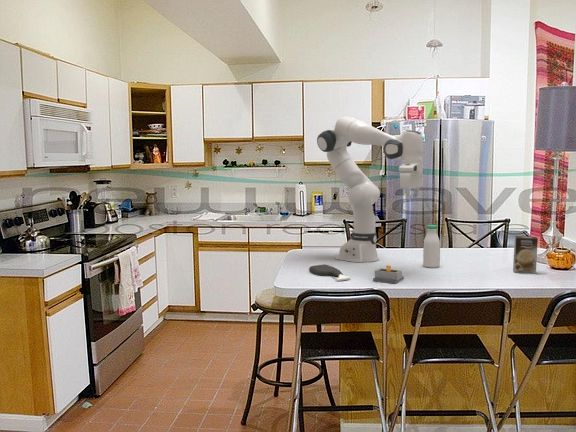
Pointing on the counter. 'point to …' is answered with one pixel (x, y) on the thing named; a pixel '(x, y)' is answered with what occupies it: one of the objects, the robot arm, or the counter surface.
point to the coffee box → (525, 254)
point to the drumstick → (328, 272)
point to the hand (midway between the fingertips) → (412, 198)
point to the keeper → (388, 279)
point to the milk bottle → (431, 248)
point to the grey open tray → (388, 274)
